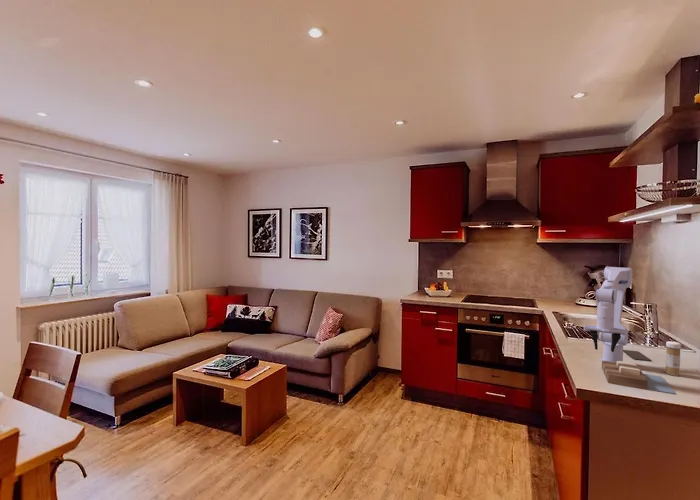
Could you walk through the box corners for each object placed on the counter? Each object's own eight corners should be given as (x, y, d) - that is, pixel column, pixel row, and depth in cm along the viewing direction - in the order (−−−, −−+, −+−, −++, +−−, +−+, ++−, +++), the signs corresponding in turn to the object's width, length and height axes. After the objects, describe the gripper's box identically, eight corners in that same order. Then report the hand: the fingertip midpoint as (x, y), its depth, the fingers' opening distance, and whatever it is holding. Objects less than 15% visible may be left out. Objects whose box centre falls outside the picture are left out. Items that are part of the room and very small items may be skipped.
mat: (637, 373, 147) (637, 372, 147) (661, 377, 144) (661, 376, 144) (648, 389, 132) (648, 388, 132) (675, 394, 128) (675, 393, 128)
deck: (601, 368, 153) (602, 360, 153) (636, 373, 148) (636, 365, 147) (608, 382, 138) (608, 374, 138) (647, 389, 132) (647, 380, 132)
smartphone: (621, 351, 179) (633, 360, 165) (621, 349, 179) (633, 358, 165) (638, 352, 176) (653, 362, 162) (638, 351, 176) (653, 360, 162)
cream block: (616, 365, 147) (616, 360, 147) (634, 368, 144) (634, 363, 144) (620, 372, 139) (620, 367, 139) (639, 375, 136) (640, 370, 136)
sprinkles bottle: (677, 373, 148) (678, 341, 148) (681, 377, 144) (683, 344, 144) (663, 371, 150) (664, 340, 150) (667, 375, 146) (668, 343, 146)
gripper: (585, 317, 145) (584, 349, 145) (629, 321, 138) (628, 355, 138) (583, 314, 151) (582, 345, 152) (626, 318, 144) (624, 350, 145)
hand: (604, 350), depth 145 cm, fingers open, 5 cm apart
